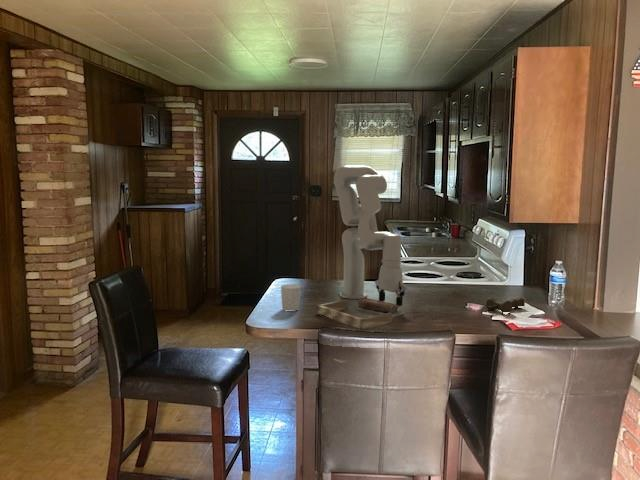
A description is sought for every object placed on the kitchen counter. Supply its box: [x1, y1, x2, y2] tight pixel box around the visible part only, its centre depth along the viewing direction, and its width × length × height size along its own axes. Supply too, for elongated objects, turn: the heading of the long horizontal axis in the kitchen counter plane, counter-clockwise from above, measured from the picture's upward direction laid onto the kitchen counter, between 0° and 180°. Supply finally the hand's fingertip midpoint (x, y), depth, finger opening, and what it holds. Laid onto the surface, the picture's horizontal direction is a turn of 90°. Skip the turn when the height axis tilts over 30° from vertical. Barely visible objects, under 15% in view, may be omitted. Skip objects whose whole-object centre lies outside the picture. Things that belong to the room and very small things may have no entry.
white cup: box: [280, 283, 301, 310], centre depth 217 cm, size 8×8×10 cm
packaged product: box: [355, 297, 405, 319], centre depth 215 cm, size 18×5×10 cm
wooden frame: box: [315, 299, 393, 331], centre depth 206 cm, size 27×16×4 cm, turn 40°
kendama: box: [485, 296, 526, 313], centre depth 219 cm, size 6×10×20 cm
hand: (390, 303), depth 220 cm, fingers open, 9 cm apart
